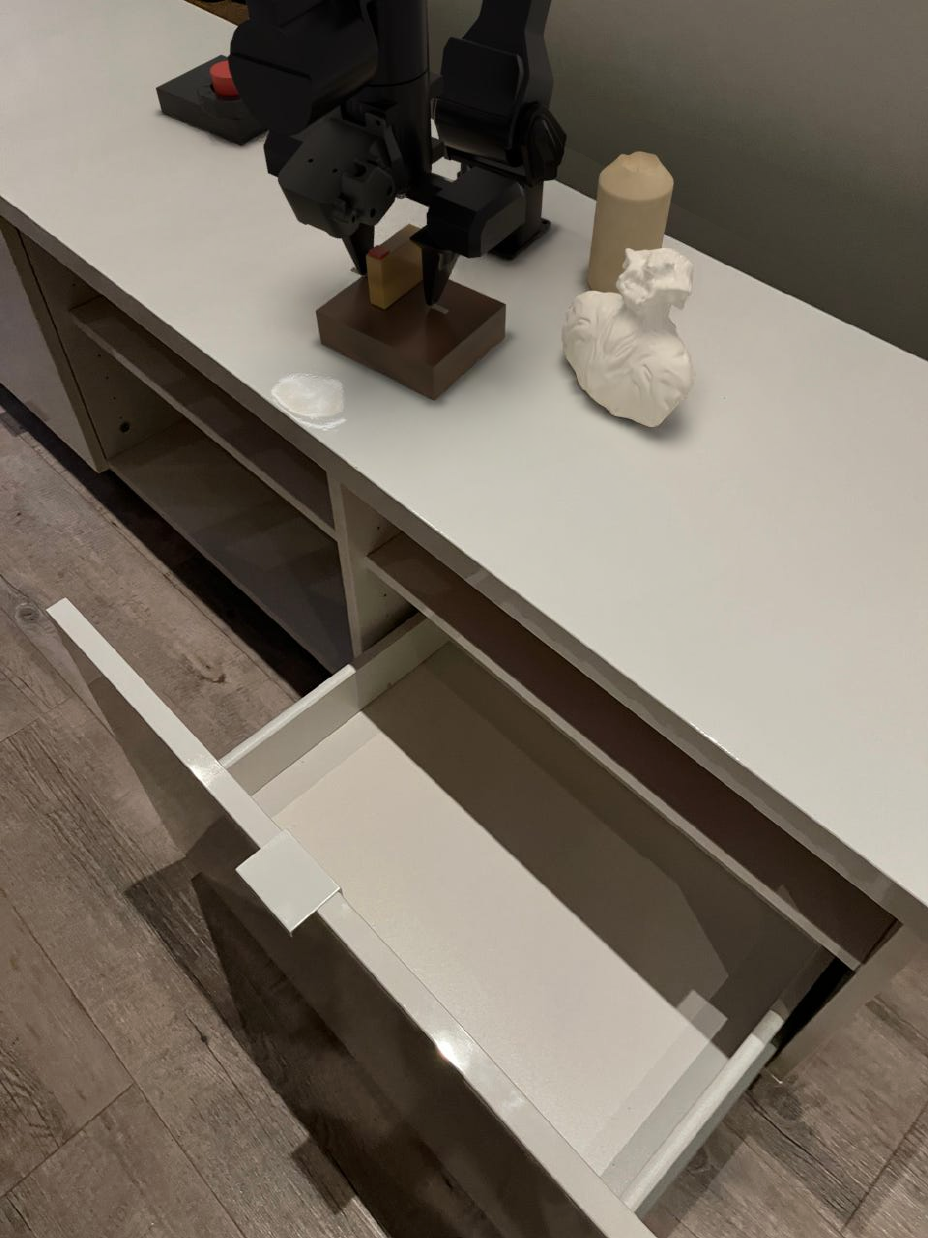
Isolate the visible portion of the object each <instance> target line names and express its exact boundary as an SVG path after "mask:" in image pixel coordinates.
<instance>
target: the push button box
mask: <svg viewBox="0 0 928 1238" xmlns="http://www.w3.org/2000/svg"><path fill="white" fill-rule="evenodd" d="M223 61H228V56H226V55H224V54H219V55H217V56H216V57H213V58H211V59H210V60H207V61H206V62H204V63H201V64H199V65H198V66H195V67H194V68H192V69H190V70H188V71H186V72H184V73H182V74H180V75H178V76H176V77H174V78H172V79H171V80H168V81H166V82H164V83H162V84H160V85H158V86H156V87H155V92H156V95H157V99H158V103H159V107H160V111H161V114H164V115H166V116H168V117H171V118H174V119H176V120H179V121H181V122H183V123H185V124H189V125H191V126H193V127H195V128H198V129H199V130H202V131H204V132H207V133H209V134H212V135H215V136H217V137H219V138H222V139H224V140H226V141H229V142H231V143H233V144H236V145H238V146H243V145H245V144H248V143H249V142H250V141H252V140H253V139H255V138H258V137H259V136H260V135H262V134H264V133H266V132H267V131H269V129H267V128H266V127H264V126H263V125H262V124H261V123H260V122H259V121H257V120H256V119H255V118H254V116H253V115H252V114H251V113H250V112H249V110H248V109H247V108H246V106H245V105H244V103H243V101H242V100H241V98H240V97H239V95H233V96H228V95H220V94H217V93H215V92H214V88H213V83H212V79H211V74H210V69H211V67H212V66H213V65H215V64H217V63H219V62H223Z"/></svg>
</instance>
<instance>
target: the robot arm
mask: <svg viewBox="0 0 928 1238" xmlns="http://www.w3.org/2000/svg"><path fill="white" fill-rule="evenodd" d="M245 3H246V10H247V14H248V18H247V19H246V20H244V21H242V22H241V23H239V24H238V25H237V26H236V28H235V29H234V31H233V33H232V36H231V40H230V45H229V46H230V47H229V55H227V57H228V65H229V70H230V74H231V77H232V81H233V84H234V86H235V88H236V90H237V92H238V95H239V97H240V98H241V100H242V101H243V103H244V105H245V106H246V108H247V109H248V110H249V112H250V113H251V114H252V115H253V116H254V118H255V119H256V120H257V121H259V122H260V123H261V124H262V125H263V126H264V127H266V128H267V129H269V130H268V132H267V134H266V137H265V139H264V142H263V146H262V149H263V154H264V160H265V166H266V172H267V174H268V175H271V176H273V177H275V178H277V183H278V185H279V187H280V189H281V191H282V193H283V195H284V197H285V199H286V201H287V202H288V204H289V208H290V209H291V211H292V212H293V214H294V217H295V218H296V220H297V222H298V223H300V224H303V225H304V226H308V225H309V226H311V227H313V228H315V229H317V230H320V231H322V232H325V233H326V234H327V235H328V236H329V237H332V238H335V239H337V240H338V239H340V240H341V241H342V243H343V244H344V247H345V250H346V251H347V253H348V255H349V257H350V259H351V261H352V263H353V265H354V268H356V269H357V271H358V273H359V274H361V275H365V274H366V273H368V271H367V261H366V255H367V254H368V253H369V251H370V250H371V249H372V248H374V247H375V235H376V233H375V231H376V226H377V225H378V224H379V223H380V222H381V220H382V219H383V217H384V216H385V215H386V214H387V212H389V210H390V209H391V207H392V206H393V204H394V203H395V202H396V199H398V200H404V199H408V200H410V201H412V202H414V203H417V204H420V205H422V206H425V207H427V212H426V214H425V215H426V217H425V219H426V224H425V225H424V226H423V227H421V229H420V230H419V231H417V232H416V233H414V234H413V235H412V236H410V237H409V240H410V241H411V242H413V243H414V244H416V245H417V246H418V247H420V248H421V253H422V270H423V287H424V294H425V299H426V304H427V305H429V306H433V305H434V304H435V303H436V302H437V301H438V300H439V299H440V297H441V294H442V292H443V290H444V288H445V286H446V283H447V281H448V279H450V276H451V274H452V272H453V270H454V268H455V266H456V264H457V262H458V259H459V257H460V256H461V257H464V258H466V259H478V258H482V257H483V256H484V255H486V254H487V253H488V254H491V255H493V256H496V257H498V258H500V259H503V260H506V261H511V260H514V259H515V258H516V257H517V256H519V255H520V254H521V253H522V252H523V251H525V250H526V249H527V248H528V247H529V246H531V245H532V244H533V243H534V242H535V241H537V240H538V239H539V238H540V237H542V236H543V235H544V234H545V233H546V232H548V231H549V230H550V229H551V223H552V222H551V221H550V219H547V218H545V217H543V216H542V214H543V213H542V212H543V199H544V187H545V185H544V184H545V182H550V181H554V180H555V179H556V178H557V177H558V167H559V166H560V165H561V164H562V161H563V157H564V155H565V147H566V144H567V139H568V135H567V133H566V131H565V130H564V129H563V127H562V126H561V125H560V123H559V121H558V120H557V119H556V117H555V115H554V114H553V113H552V111H551V110H550V106H551V100H552V94H553V90H554V89H553V88H554V83H555V81H554V76H553V71H552V67H551V63H550V58H549V53H548V49H547V45H546V40H545V30H546V24H547V22H548V16H549V13H550V8H551V5H552V0H481V2H480V7H479V11H478V15H477V17H476V18H475V20H474V21H473V22H472V23H471V24H470V26H468V28H467V29H466V31H464V33H463V34H462V35H461V36H460V37H457V36H452V35H451V36H450V37H449V38H448V40H447V41H446V43H445V45H444V47H443V49H442V58H441V65H440V71H439V73H436V72H433V71H431V68H430V65H431V64H430V37H429V36H430V35H429V31H430V30H429V2H428V0H245ZM432 100H433V102H431V101H432ZM432 118H433V124H434V126H435V130H436V133H437V137H438V138H437V137H435V136H433V135H432V132H433V131H432ZM442 158H443V159H444V160H447V161H450V162H451V161H454V162H456V163H459V164H460V169H459V171H458V172H457V173H456V179H450V178H448V177H445V176H443V175H440V174H438V173H436V172H432V171H433V165H434V164H435V163H437V162H438V161H439V160H441V159H442Z"/></svg>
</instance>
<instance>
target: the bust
mask: <svg viewBox="0 0 928 1238" xmlns="http://www.w3.org/2000/svg"><path fill="white" fill-rule="evenodd" d="M625 254H626V260H625V262H624V263H623V266H622V267H623V269H626V270H625V272H624V273H622V274H621V275H620V276H619V278H618V280H617V282H616V287H617V289H618V290H619V293H620V294H621V295H622V296H621V295H620V294H617V293H612V292H608V293H602V292H598V291H593V290H588V291H585V292H583V293H580V294H578V295H576V296H575V297H574V298H573V300H572V302H571V306H570V307H569V308H568V309H567V311H566V314H565V323H564V324H563V326H562V329H561V341H562V344H563V352H564V357H565V358H566V359H567V361H568V362H569V364H570V366H571V368H572V369H573V370H574V372H575V373H576V379H577V382H578V384H579V386H580V388H581V389H582V390H583V391H585V392H586V393H587V394H588V395H589V397H590V398H591V399H593V401H595V402H596V403H597V404H598V405H600V406H602V407H604V408H605V409H606V410H608V412H609V413H610V414H611V415H612V416H614V417H619V418H625V419H630V420H633V421H634V422H636V423H638V424H641V425H643V426H646V427H649V428H655V427H658V426H659V425H661V423H662V422H663V421H665V419H666V418H667V417H668V415H670V414H671V413H672V411H673V410H674V409H675V408H676V407H677V406H678V405H679V403H681V402H682V401H683V400H685V399H686V398H687V397H688V395H689V394H690V392H691V390H692V387H693V385H694V384H695V382H696V379H697V378H696V372H695V371H694V369H693V363H692V355H691V353H690V351H689V349H688V348H687V346H686V344H685V342H684V341H683V339H682V338H681V337H679V334H678V332H677V326H676V324H675V323H674V322H673V321H672V319H671V318H670V317H669V316H670V309H671V307H672V306H674V307H675V308H676V309H678V310H679V311H683V309H684V308H685V304H686V301H687V300H688V297H689V296H691V295H692V293H693V282H694V264H693V263H692V262H691V261H690V260H689V259H688V258H686V256H685V255H684V254H681V252H680V249H678V250H676V249H675V248H670V247H662V248H660V249H654V250H641V251H634V250H632V249H630V248H627V249H626V250H625Z"/></svg>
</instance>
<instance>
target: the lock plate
mask: <svg viewBox="0 0 928 1238" xmlns="http://www.w3.org/2000/svg"><path fill="white" fill-rule="evenodd" d="M350 272H352V273H354V274H356V275H358V276H360V277H359V278H357V279H356V280H355V281H353V282H352V283H350V284H349V285H348V286H346V287H345V288H344V289H342V290H341V291H339V293H337V294H336V295H334V296H333V297H332V298H330V299H328V301H326V302H325V303H323V304H322V305H320V307H318V308H317V309H316V310H315V317H316V322H317V329H318V335H319V341H320V345H322V346H324V347H327V348H328V349H331V350H332V351H333V352H336V353H338V354H341V355H342V356H344V357H347V358H349V359H351V360H352V361H354V362H357V363H358V364H361V365H362V366H364V367H367V368H369V369H370V370H373V371H375V372H377V373H378V374H381V375H382V376H384V377H386V378H389V379H391V380H393V381H394V382H396V383H398V384H400V385H403V386H405V387H407V388H409V389H411V390H413V391H414V392H416V393H418V394H421V395H423V396H425V397H427V398H429V399H431V400H433V401H435V400H437V398H438V397H440V396H441V395H442V394H443V393H444V392H446V390H448V389H449V388H450V387H452V385H453V384H454V383H455V382H456V381H458V380H459V379H460V378H461V377H462V376H464V375H465V374H466V373H467V372H468V371H469V370H470V369H471V368H473V366H475V365H476V364H477V363H478V362H479V361H480V360H481V359H482V358H483V357H484V356H486V355H487V354H488V353H489V352H490V351H491V350H492V349H494V347H496V346H497V345H498V344H500V342H502V340H504V339H505V337H506V318H507V304H506V303H505V302H502V301H500V300H497V299H496V298H493V297H491V296H489V295H486V294H484V293H481V292H479V291H477V290H475V289H472V288H470V287H468V286H465V285H463V284H461V283H459V282H456V281H455V280H452V279H451V278H449V279H448V281H447V283H446V286H445V288H444V290H443V292H442V294H441V297H440V299H439V300H438V301H437V302H436V303H435V304H434V305H433V306H429V305H427V304H426V299H425V294H424V287H423V280H422V281H421V282H419V283H418V284H417V285H415V286H414V287H413V288H412V289H410V290H409V291H408V292H406V293H405V294H404V295H403V296H401V297H400V298H399V299H398V300H396V301H395V302H394V303H392V304H391V305H390V306H389V307H387V308H386V309H382V308H380V307H378V306H376V305H374V304H372V303H371V302H370V291H369V281H368V273H366V274H365V275H361V274H359V273H358V271H357V269H356V267H355V266H354V267H351V268H350Z"/></svg>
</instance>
